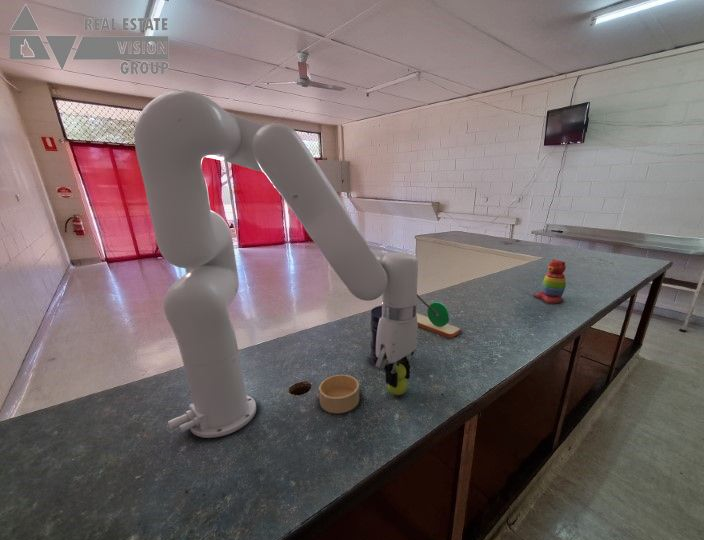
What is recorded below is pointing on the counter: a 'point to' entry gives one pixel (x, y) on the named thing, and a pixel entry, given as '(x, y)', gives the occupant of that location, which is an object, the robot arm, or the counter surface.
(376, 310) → the storage jar
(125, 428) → the counter surface
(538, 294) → the stacking bear
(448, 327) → the crank mechanism
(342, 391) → the bowl
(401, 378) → the pear plush
